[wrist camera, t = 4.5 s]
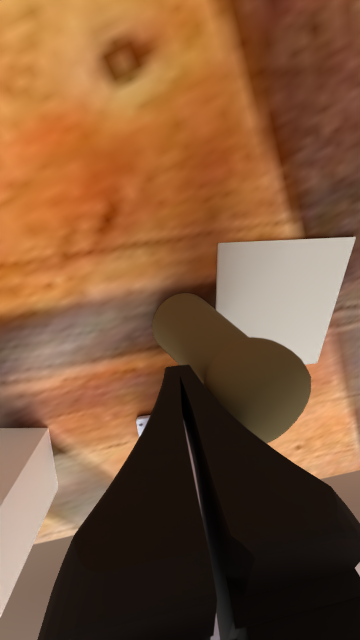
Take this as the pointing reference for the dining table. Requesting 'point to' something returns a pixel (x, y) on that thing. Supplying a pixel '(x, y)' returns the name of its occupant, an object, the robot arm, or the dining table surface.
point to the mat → (282, 289)
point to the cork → (235, 365)
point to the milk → (22, 498)
